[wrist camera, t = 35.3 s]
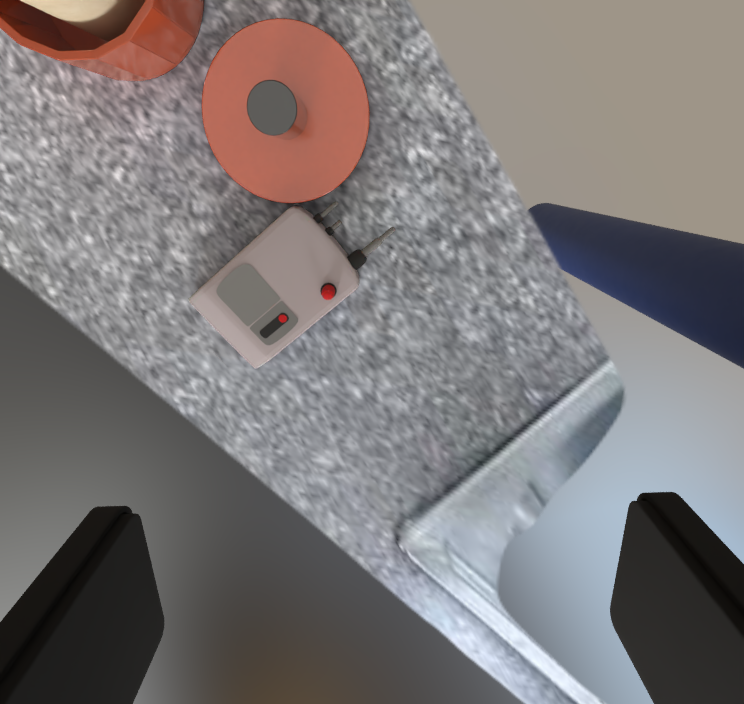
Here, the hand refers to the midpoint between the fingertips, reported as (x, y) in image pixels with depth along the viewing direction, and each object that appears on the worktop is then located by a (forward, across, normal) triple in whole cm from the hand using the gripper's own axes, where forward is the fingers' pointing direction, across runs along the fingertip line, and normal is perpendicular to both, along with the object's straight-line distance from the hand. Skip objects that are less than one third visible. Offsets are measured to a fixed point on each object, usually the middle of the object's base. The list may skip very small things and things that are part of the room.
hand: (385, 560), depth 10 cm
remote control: (+26, +6, 0) cm, 27 cm away
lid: (+26, +5, -10) cm, 28 cm away
